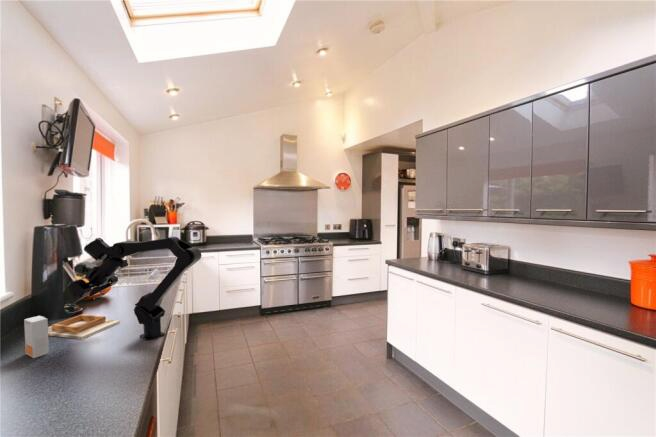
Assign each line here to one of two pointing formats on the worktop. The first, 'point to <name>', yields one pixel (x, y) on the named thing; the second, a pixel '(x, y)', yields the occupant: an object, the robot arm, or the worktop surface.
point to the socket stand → (81, 326)
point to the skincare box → (36, 336)
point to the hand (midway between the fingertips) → (80, 299)
